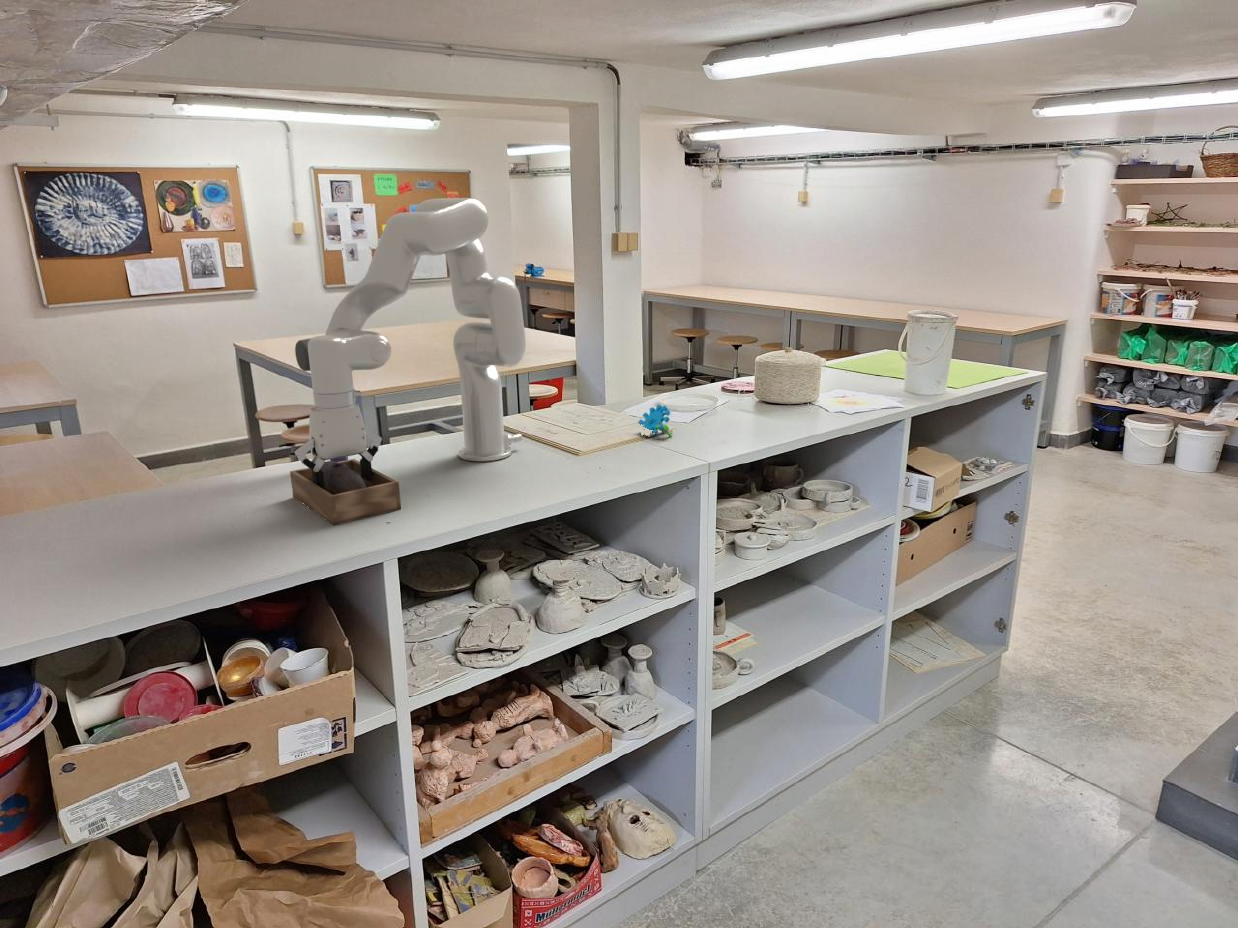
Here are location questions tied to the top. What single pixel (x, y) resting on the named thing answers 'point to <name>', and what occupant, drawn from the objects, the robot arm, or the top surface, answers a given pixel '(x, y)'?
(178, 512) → the top surface
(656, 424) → the blue bumpy cluster
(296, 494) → the box
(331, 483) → the perforated stone tool
